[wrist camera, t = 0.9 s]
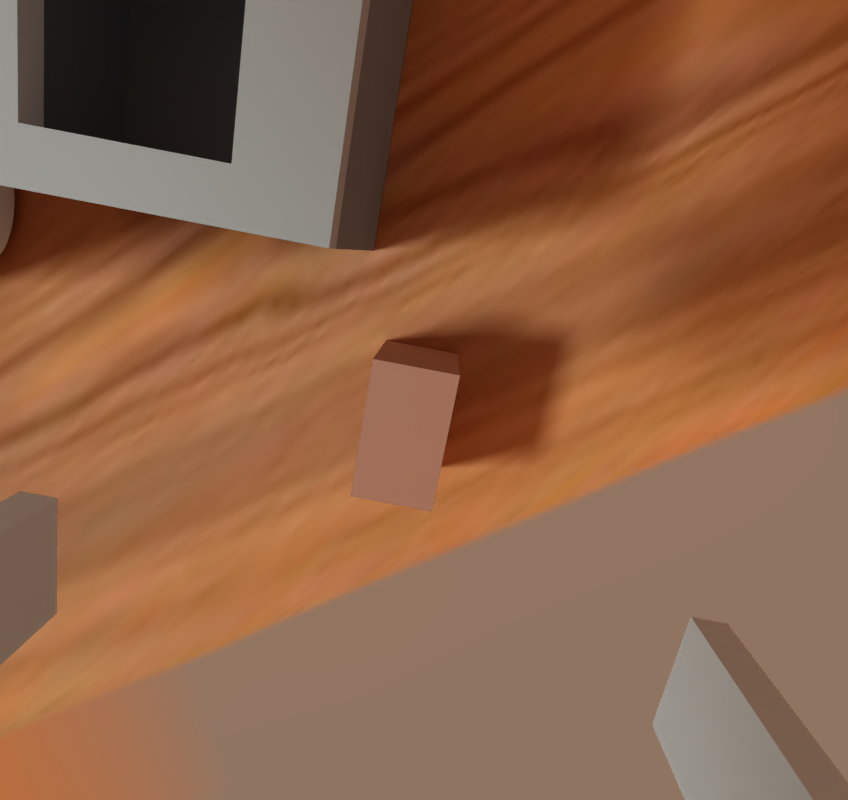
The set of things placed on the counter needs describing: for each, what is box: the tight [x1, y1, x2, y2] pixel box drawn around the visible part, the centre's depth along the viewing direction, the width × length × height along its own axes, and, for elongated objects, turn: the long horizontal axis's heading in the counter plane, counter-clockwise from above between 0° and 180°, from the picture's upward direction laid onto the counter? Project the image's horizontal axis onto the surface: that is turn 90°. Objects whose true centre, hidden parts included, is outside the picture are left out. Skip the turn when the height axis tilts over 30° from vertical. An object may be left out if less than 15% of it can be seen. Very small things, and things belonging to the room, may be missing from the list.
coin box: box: [0, 0, 413, 251], centre depth 19 cm, size 12×12×10 cm
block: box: [351, 340, 460, 511], centre depth 25 cm, size 6×4×5 cm, turn 170°
